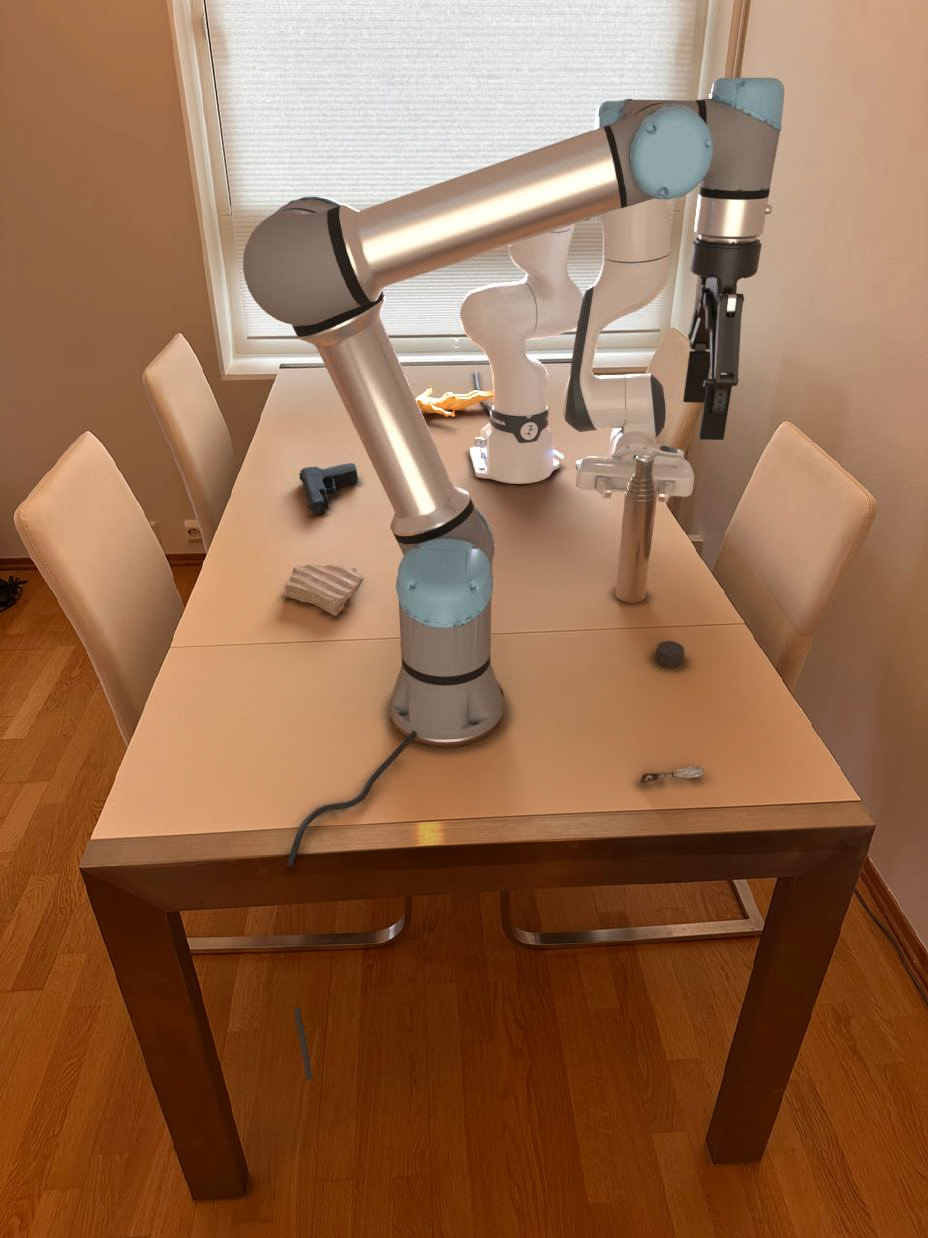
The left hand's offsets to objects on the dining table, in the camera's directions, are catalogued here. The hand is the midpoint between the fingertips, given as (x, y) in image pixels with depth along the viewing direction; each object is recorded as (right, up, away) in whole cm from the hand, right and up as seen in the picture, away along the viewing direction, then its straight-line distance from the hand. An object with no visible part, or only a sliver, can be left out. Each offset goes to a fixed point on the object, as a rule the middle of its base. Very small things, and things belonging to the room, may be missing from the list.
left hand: (702, 419), depth 112 cm
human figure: (-33, +28, +114) cm, 122 cm away
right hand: (-1, -4, +39) cm, 39 cm away
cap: (0, -30, +18) cm, 35 cm away
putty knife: (-4, -45, -3) cm, 45 cm away
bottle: (-2, -21, +35) cm, 41 cm away
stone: (-53, -21, +36) cm, 67 cm away
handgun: (-57, 0, +70) cm, 90 cm away
